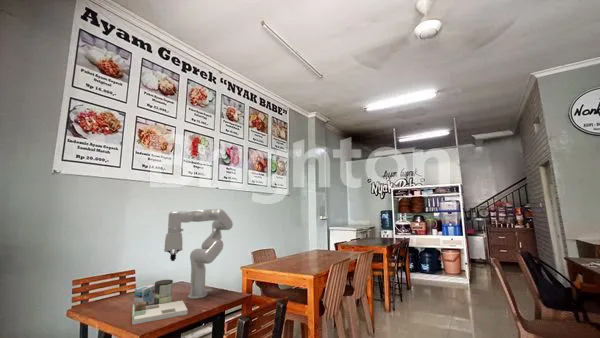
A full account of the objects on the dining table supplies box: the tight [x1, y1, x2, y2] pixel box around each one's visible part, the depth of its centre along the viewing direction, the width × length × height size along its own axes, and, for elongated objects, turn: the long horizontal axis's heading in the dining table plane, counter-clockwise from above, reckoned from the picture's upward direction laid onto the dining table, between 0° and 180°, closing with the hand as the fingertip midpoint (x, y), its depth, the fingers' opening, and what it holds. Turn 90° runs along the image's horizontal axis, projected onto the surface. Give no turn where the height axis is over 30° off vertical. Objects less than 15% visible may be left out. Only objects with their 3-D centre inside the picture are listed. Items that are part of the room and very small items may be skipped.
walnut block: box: [135, 302, 146, 313], centre depth 156 cm, size 5×5×5 cm
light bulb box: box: [133, 284, 155, 307], centre depth 178 cm, size 11×7×11 cm, turn 169°
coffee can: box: [153, 279, 174, 305], centre depth 177 cm, size 10×10×14 cm
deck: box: [131, 300, 189, 326], centre depth 161 cm, size 27×20×4 cm
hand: (172, 260), depth 178 cm, fingers closed
